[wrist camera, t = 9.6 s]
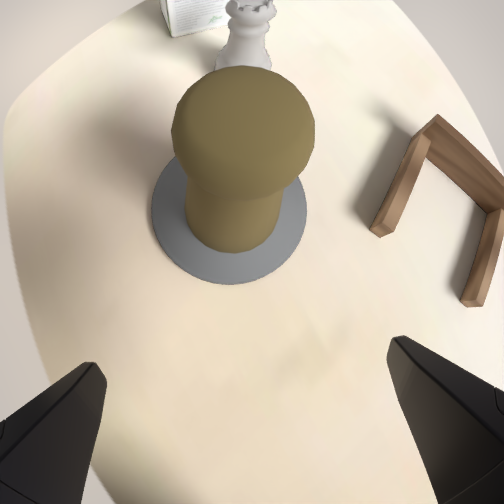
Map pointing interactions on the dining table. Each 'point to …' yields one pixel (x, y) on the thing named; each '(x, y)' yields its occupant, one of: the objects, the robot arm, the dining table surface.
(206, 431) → the dining table surface
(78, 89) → the dining table surface
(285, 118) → the cork
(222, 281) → the coaster
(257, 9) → the rook chess piece
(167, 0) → the syrup box
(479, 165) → the holder
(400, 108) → the dining table surface
